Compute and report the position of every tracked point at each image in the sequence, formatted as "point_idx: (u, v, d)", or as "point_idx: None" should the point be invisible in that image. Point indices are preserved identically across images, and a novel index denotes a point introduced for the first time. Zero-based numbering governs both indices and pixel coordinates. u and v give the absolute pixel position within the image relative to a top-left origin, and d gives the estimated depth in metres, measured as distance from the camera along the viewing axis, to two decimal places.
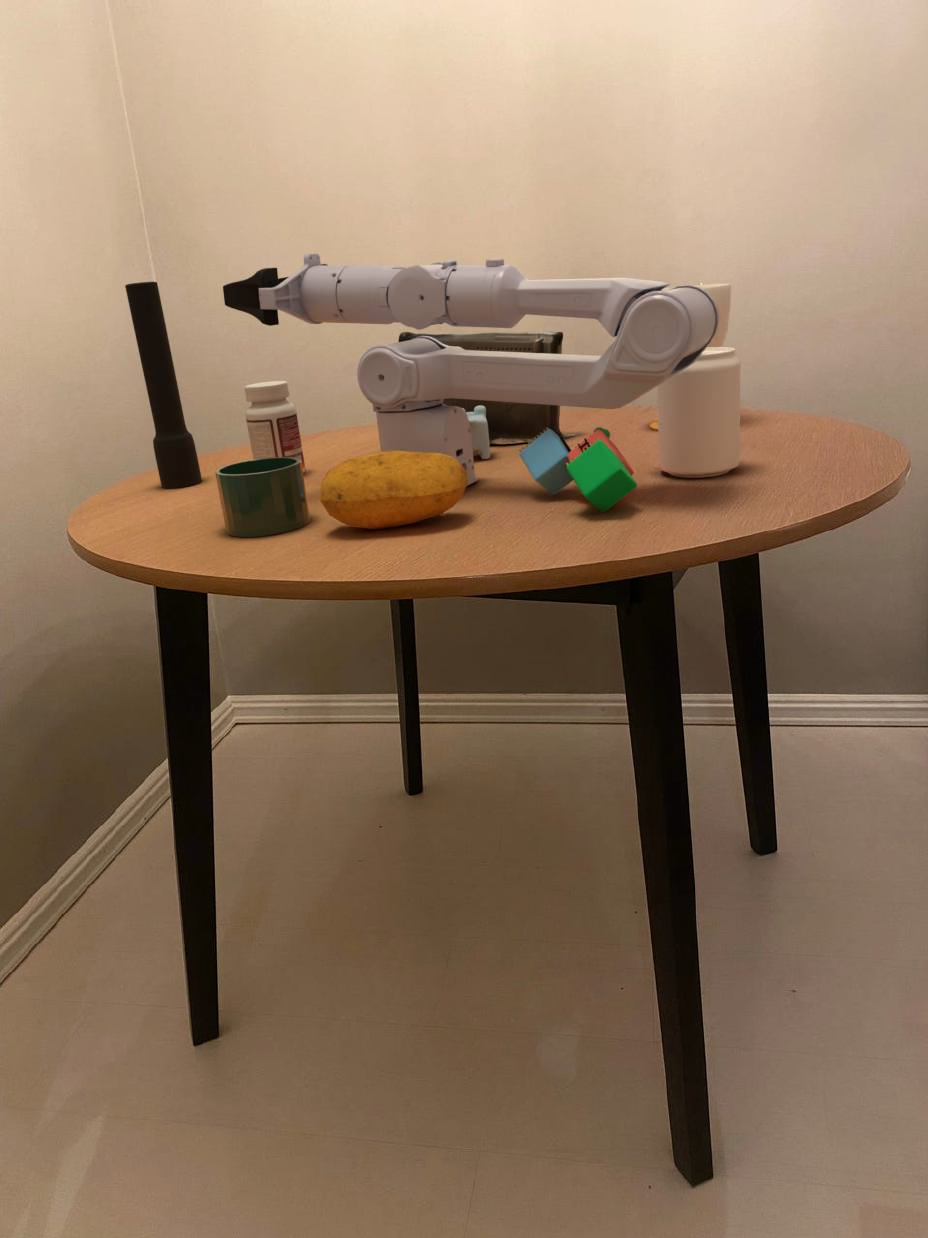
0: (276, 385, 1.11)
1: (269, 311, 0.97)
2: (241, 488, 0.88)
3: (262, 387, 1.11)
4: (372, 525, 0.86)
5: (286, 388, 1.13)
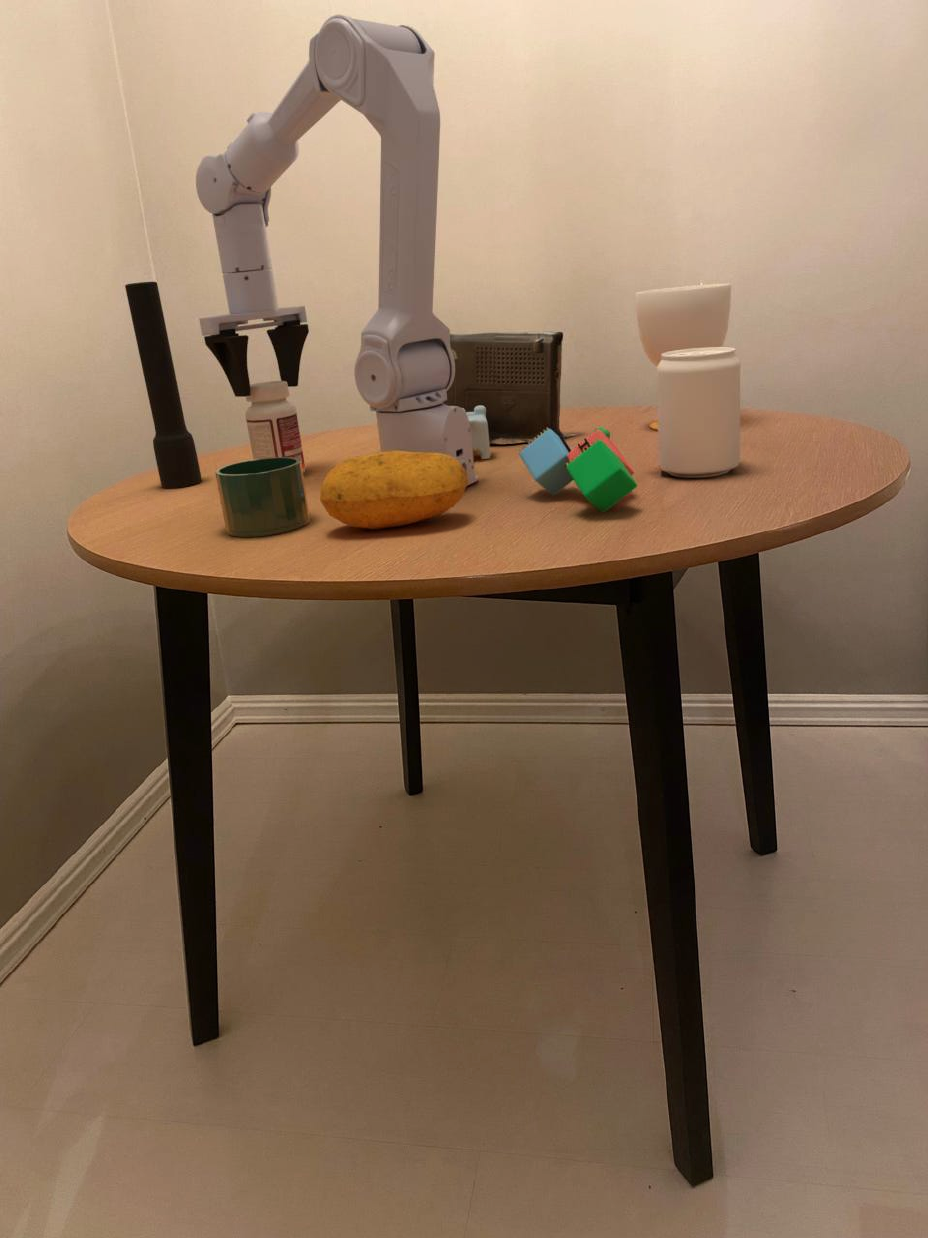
0: (276, 385, 1.11)
1: (229, 336, 1.06)
2: (241, 488, 0.88)
3: (262, 387, 1.11)
4: (372, 525, 0.86)
5: (286, 388, 1.13)
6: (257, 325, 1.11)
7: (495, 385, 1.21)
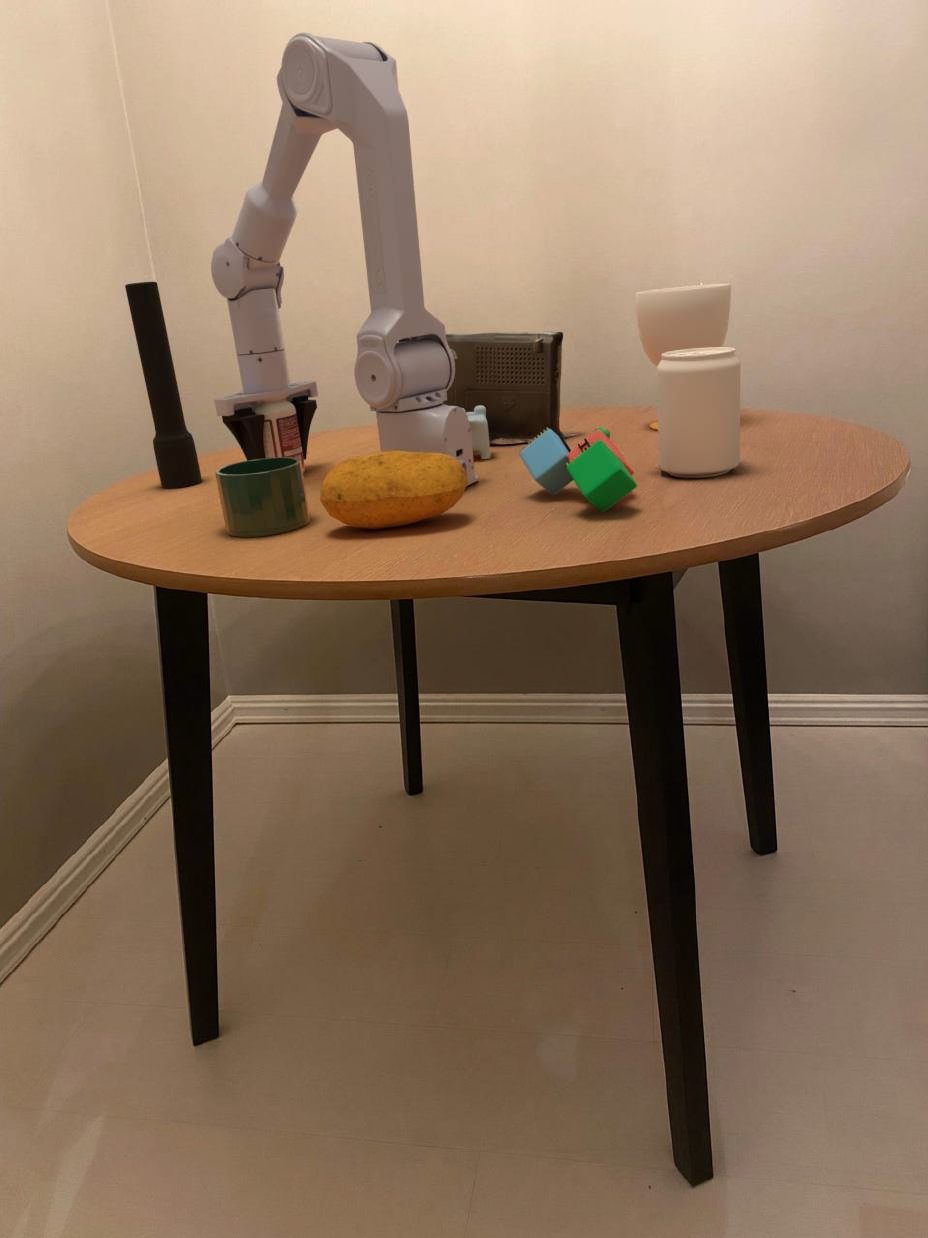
0: None
1: (246, 416, 1.10)
2: (241, 488, 0.88)
3: None
4: (372, 525, 0.86)
5: None
6: None
7: (495, 385, 1.21)
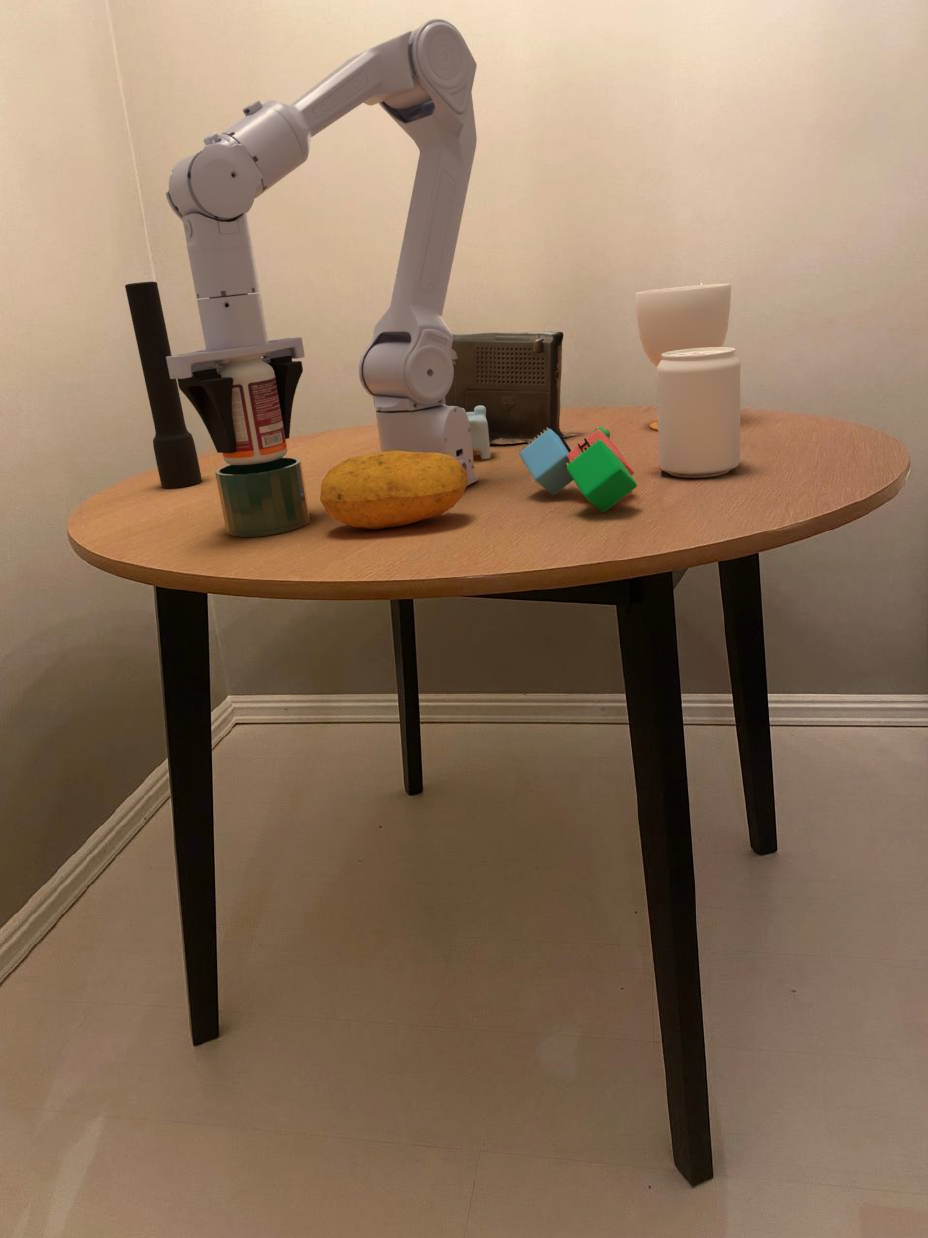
0: None
1: (209, 379, 0.84)
2: (241, 488, 0.88)
3: None
4: (372, 525, 0.86)
5: None
6: None
7: (495, 385, 1.21)
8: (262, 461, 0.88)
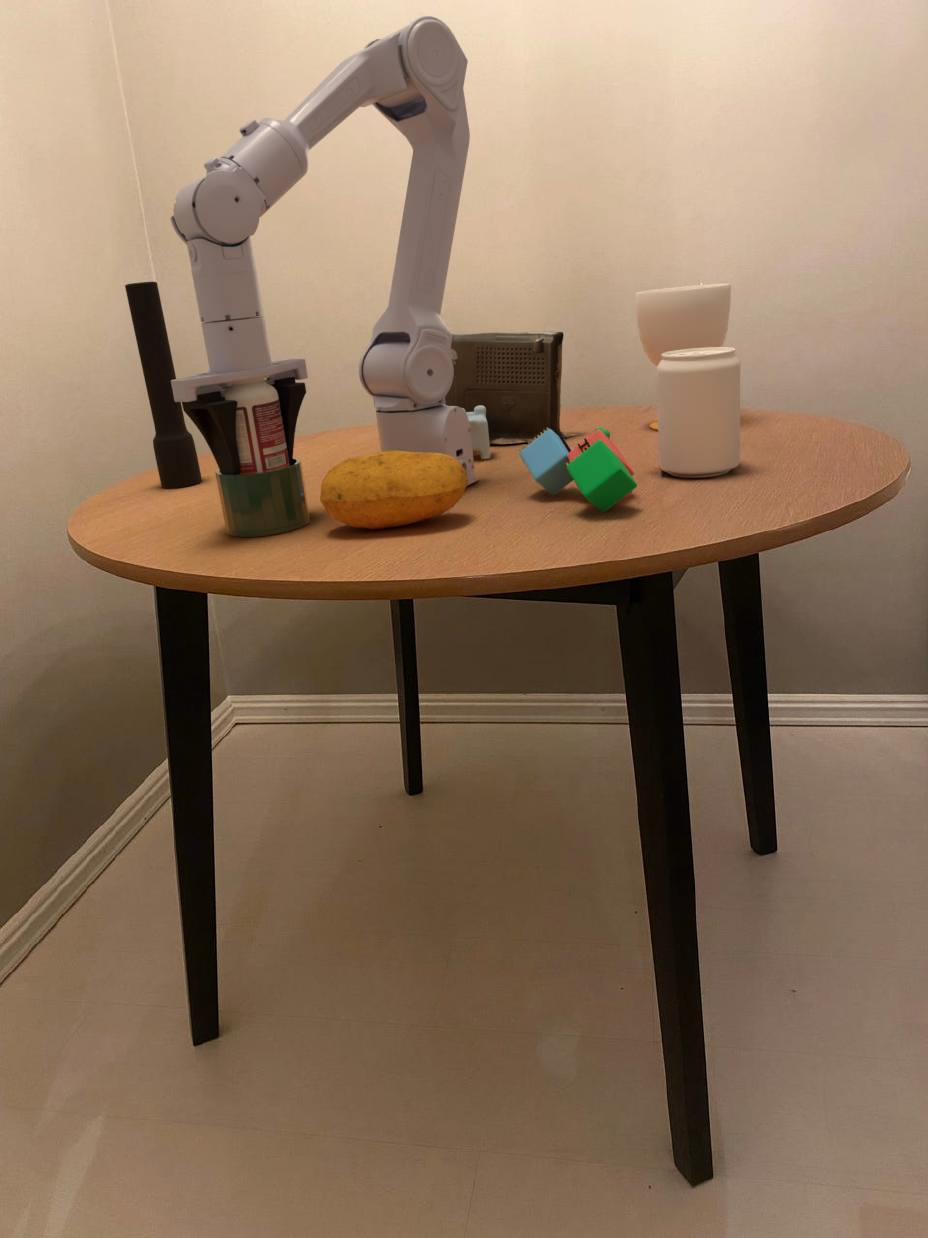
0: None
1: (213, 402, 0.84)
2: (241, 488, 0.88)
3: None
4: (372, 525, 0.86)
5: None
6: None
7: (495, 385, 1.21)
8: None
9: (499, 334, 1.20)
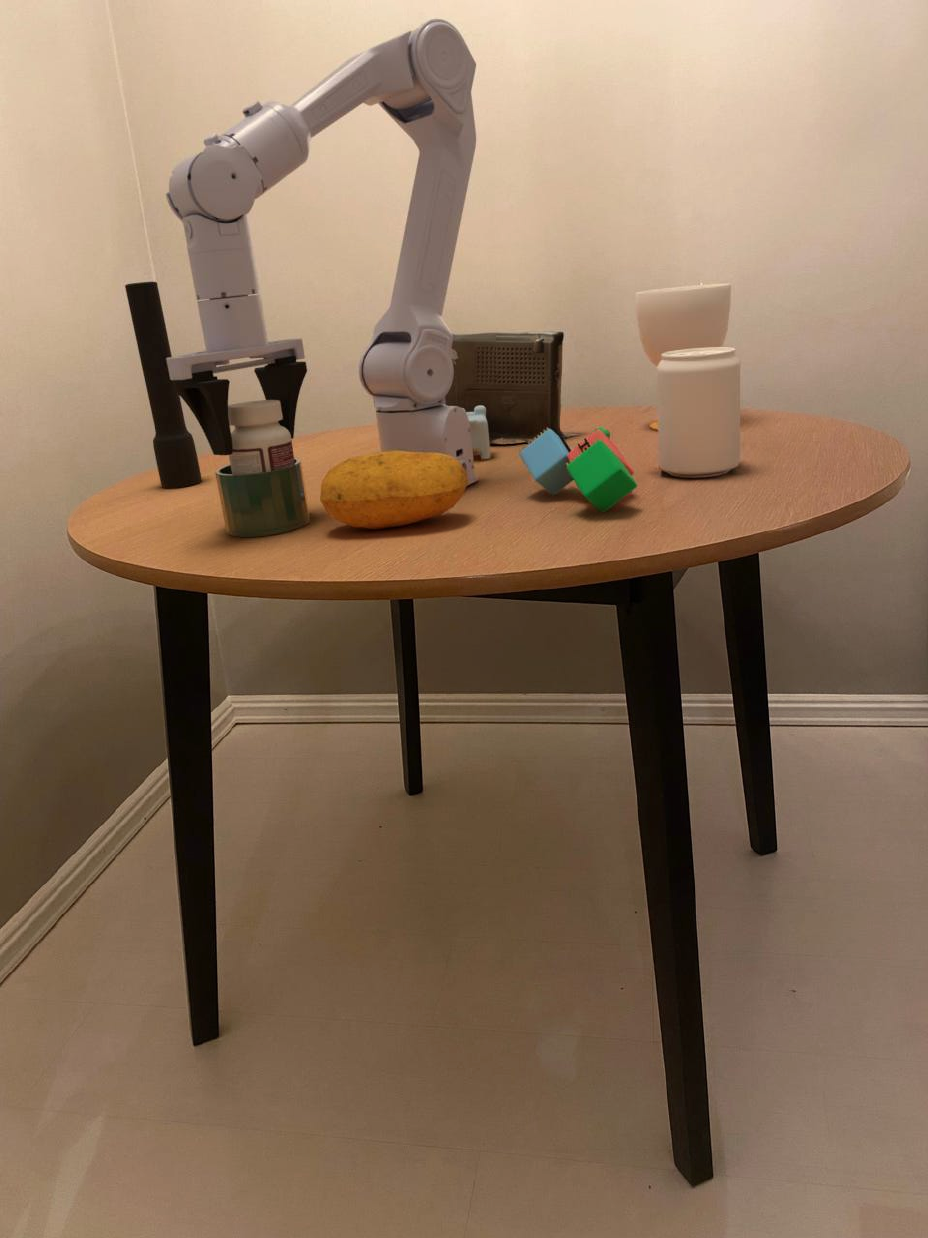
0: (268, 405, 0.88)
1: (205, 381, 0.83)
2: (241, 488, 0.88)
3: (250, 407, 0.87)
4: (372, 525, 0.86)
5: (279, 409, 0.89)
6: (241, 365, 0.87)
7: (496, 385, 1.21)
8: None
9: (499, 334, 1.20)
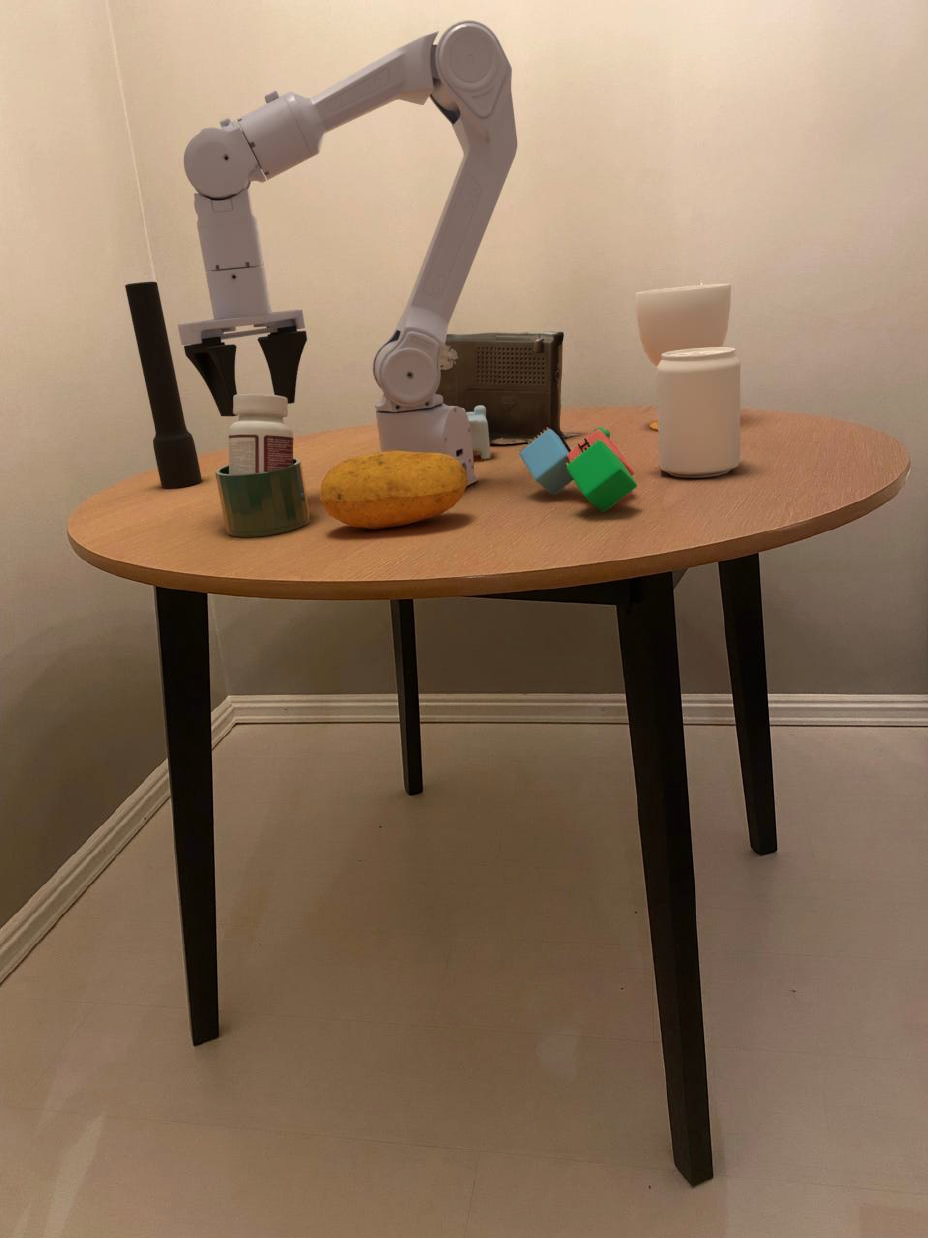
0: (271, 396, 0.89)
1: (214, 346, 0.90)
2: (241, 488, 0.88)
3: (253, 395, 0.88)
4: (372, 525, 0.86)
5: (284, 404, 0.90)
6: (246, 332, 0.94)
7: (496, 385, 1.21)
8: None
9: (499, 334, 1.20)
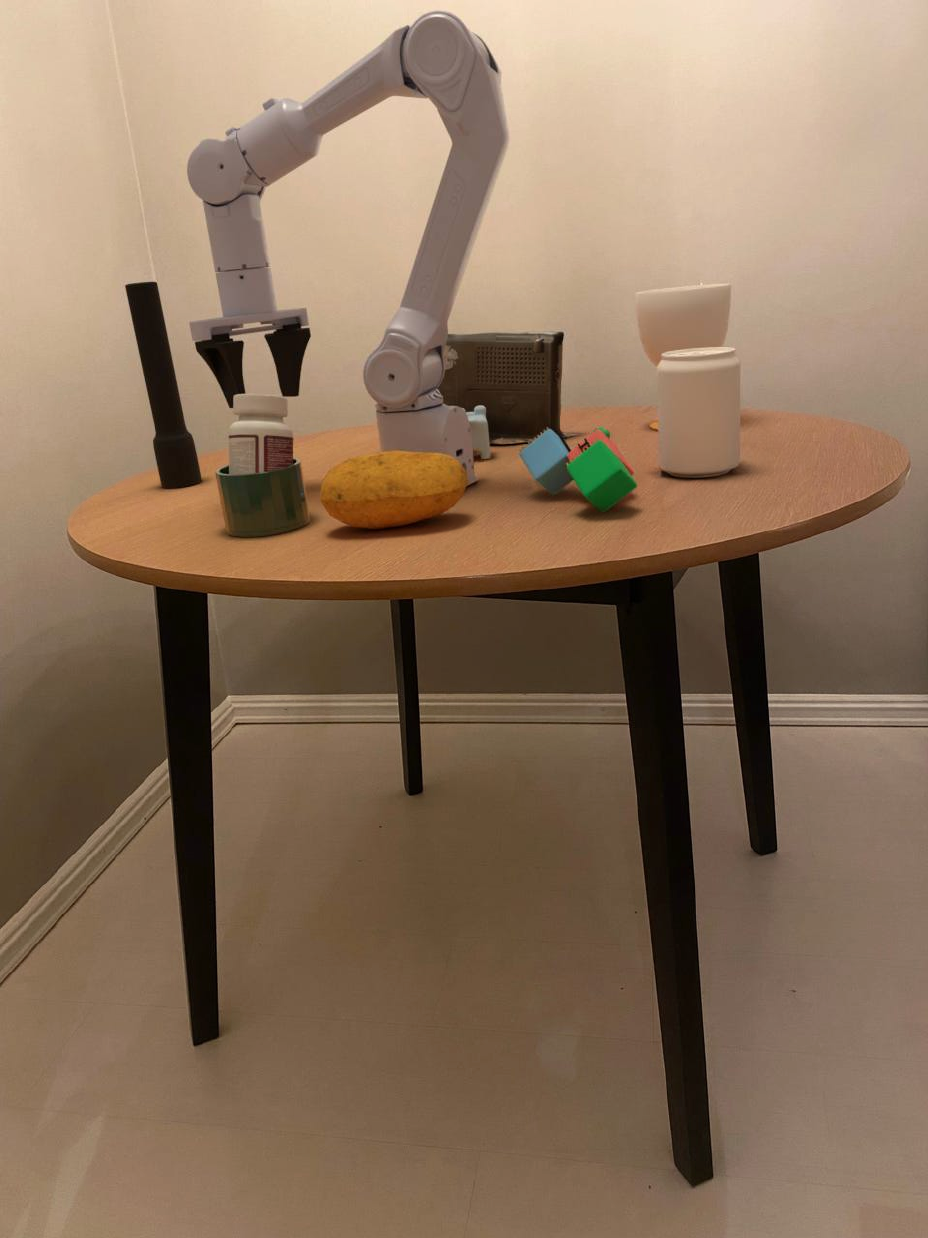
0: (271, 396, 0.89)
1: (223, 342, 0.96)
2: (241, 488, 0.88)
3: (253, 395, 0.88)
4: (372, 525, 0.86)
5: (284, 404, 0.90)
6: (253, 329, 1.00)
7: (496, 385, 1.21)
8: None
9: (499, 334, 1.20)
